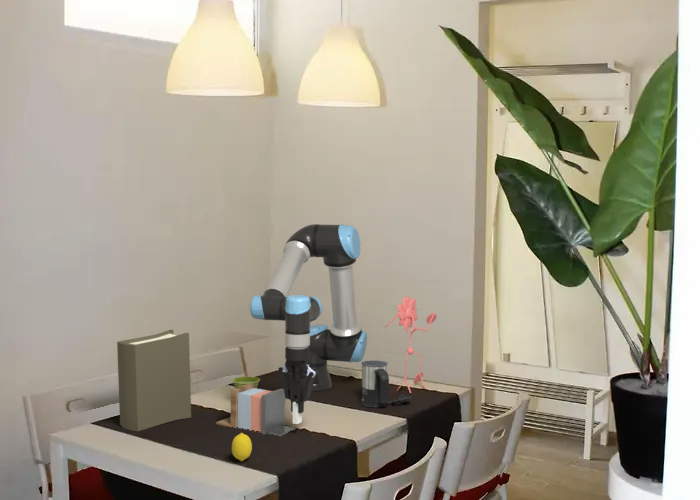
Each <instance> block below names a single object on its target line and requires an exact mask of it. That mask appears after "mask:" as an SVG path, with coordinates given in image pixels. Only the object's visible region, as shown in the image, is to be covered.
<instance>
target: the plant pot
mask: <svg viewBox="0 0 700 500" xmlns="http://www.w3.org/2000/svg"><path fill="white" fill-rule="evenodd" d="M260 381H261V378H259V377H257V376H239V377H236V378H235V377H234V378H233V379H232V382H233V385H234V388H238V387H241V386H244V385H247V384H250V383H252V384H256V388H257V389H258V386H259V383H260Z"/></svg>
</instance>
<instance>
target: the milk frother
mask: <svg viewBox="0 0 700 500" xmlns="http://www.w3.org/2000/svg"><path fill="white" fill-rule="evenodd" d="M388 364H389V363H388V362H387V361H385V360H378V359H376V360H373V359H372V360H363V361H361V391H362V393H361V403H360V404H361V406H363V407H366V408H367V407H368V408H382V407H386V406H388V404H392V403H393V404H394V403H397V402H400V404H405V403H406V402H407V401H408V400H411V399H412V397H411V396H406V395H404V394H403V395H400V396H399V398H396V399H393V400H390V401H389V390H390V389H389V387H390V377H389V374H388V368H387V367H388V366H387V365H388Z"/></svg>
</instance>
